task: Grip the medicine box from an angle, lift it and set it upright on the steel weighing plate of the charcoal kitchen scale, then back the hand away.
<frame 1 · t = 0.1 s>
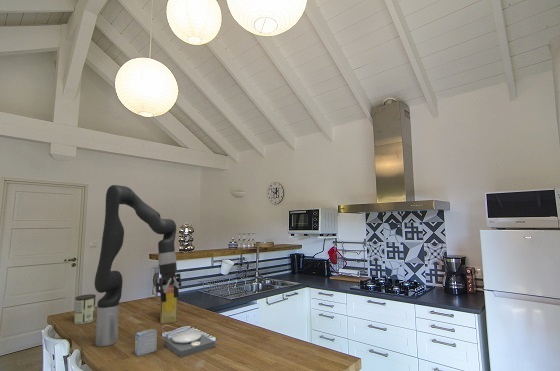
hand: (170, 299, 139), 22 cm above the table, tool pointing down, fingers open, 8 cm apart
medicine box: (145, 352, 137), on the table
coffee can: (84, 321, 182), on the table
food packaging: (168, 320, 183), on the table
kitchen scale: (189, 346, 143), on the table
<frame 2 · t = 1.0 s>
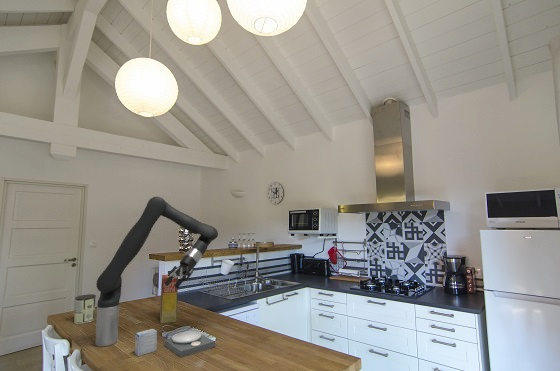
hand: (170, 286, 149), 26 cm above the table, tool tilted 45°, fingers open, 8 cm apart
nothing on the table moved.
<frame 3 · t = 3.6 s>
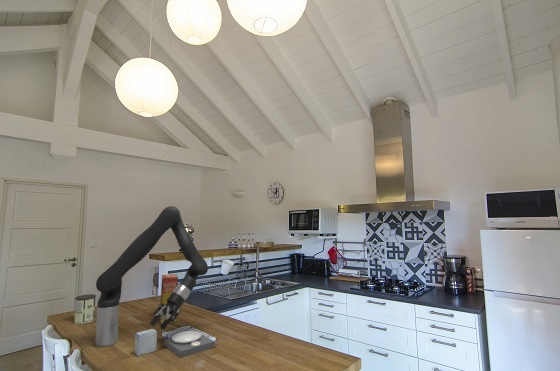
hand: (156, 326, 142), 9 cm above the table, tool tilted 45°, fingers open, 8 cm apart
nothing on the table moved.
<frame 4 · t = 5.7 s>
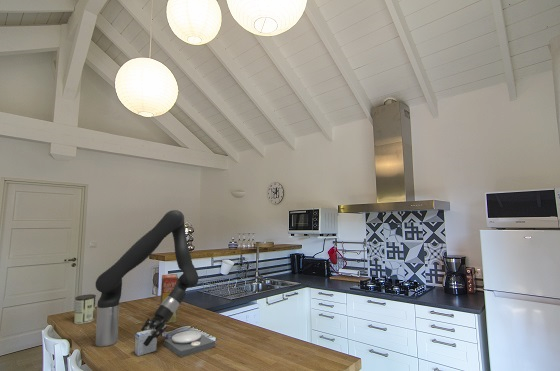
hand: (141, 343, 136), 4 cm above the table, tool tilted 45°, fingers closed on medicine box, 5 cm apart
medicine box: (145, 352, 137), on the table, touching gripper
everything else where it was.
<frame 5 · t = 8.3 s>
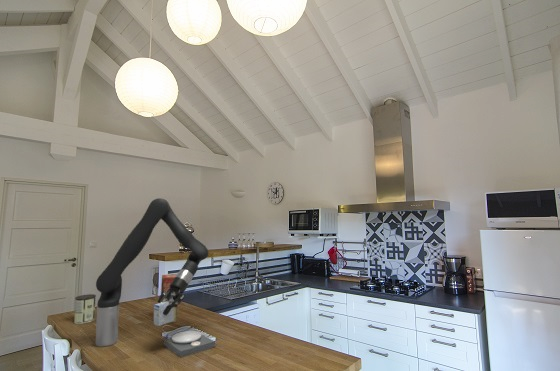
hand: (160, 313, 140), 16 cm above the table, tool tilted 45°, fingers closed on medicine box, 4 cm apart
medicine box: (164, 323, 141), point 11 cm above the table, touching gripper
everything else where it was.
when the fingers open (9 cm above the table, at t = 11.0 s): medicine box stays where it is, resting on kitchen scale.
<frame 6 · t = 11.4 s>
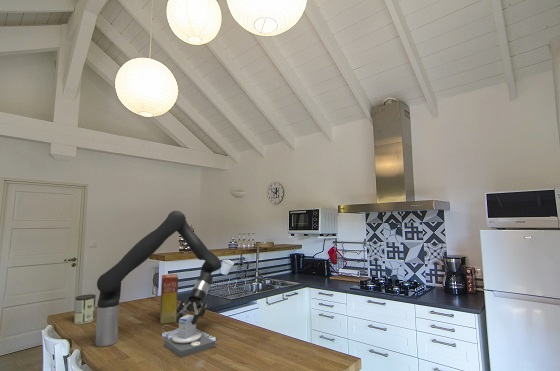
hand: (185, 323, 145), 10 cm above the table, tool tilted 45°, fingers open, 7 cm apart
medicine box: (187, 336, 145), point 4 cm above the table, touching kitchen scale
everything else where it was.
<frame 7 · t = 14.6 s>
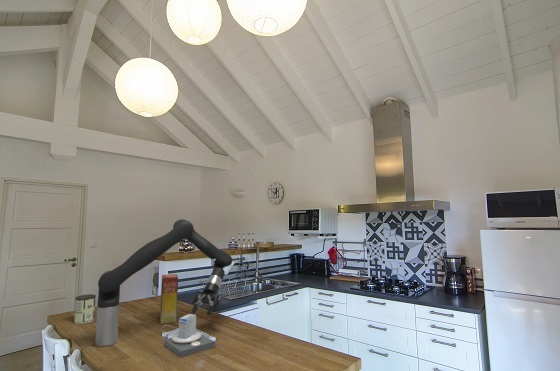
hand: (200, 313, 157), 11 cm above the table, tool tilted 45°, fingers open, 8 cm apart
nothing on the table moved.
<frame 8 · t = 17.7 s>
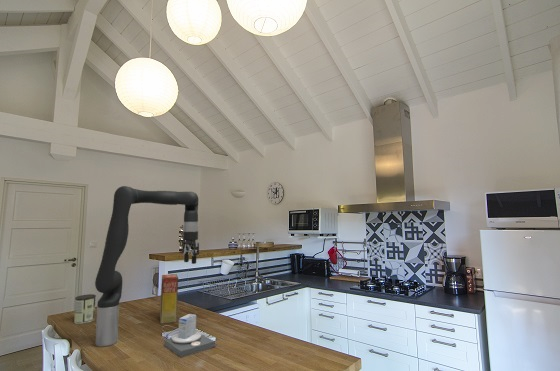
hand: (190, 262, 159), 36 cm above the table, tool pointing down, fingers open, 8 cm apart
nothing on the table moved.
at the end: medicine box inside the target area on the kitchen scale (0.2 cm from its centre), point 3.8 cm above the kitchen scale's base; medicine box tilted 0°; the gripper is holding nothing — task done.
